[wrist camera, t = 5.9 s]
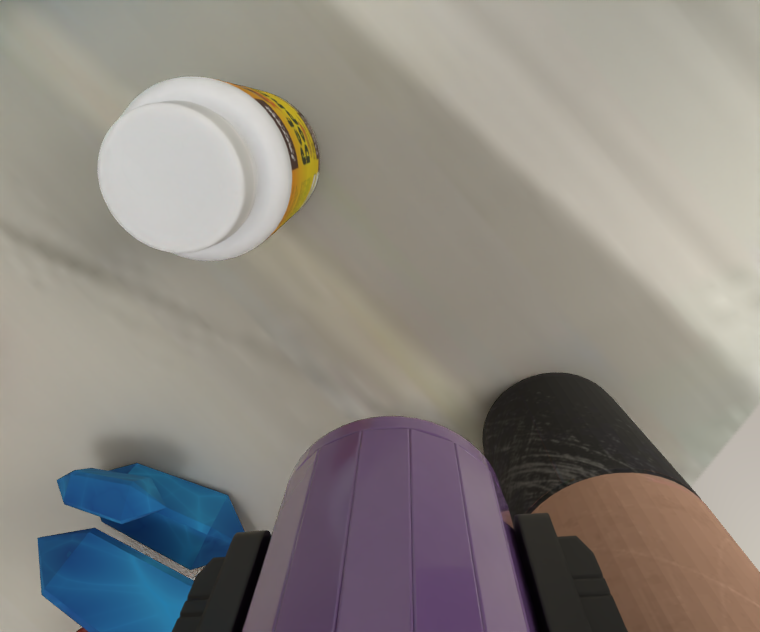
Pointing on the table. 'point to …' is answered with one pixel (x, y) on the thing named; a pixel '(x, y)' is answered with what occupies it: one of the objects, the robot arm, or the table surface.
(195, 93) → the supplement bottle
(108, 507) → the crystal
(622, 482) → the travel mug
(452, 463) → the cup
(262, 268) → the table surface
